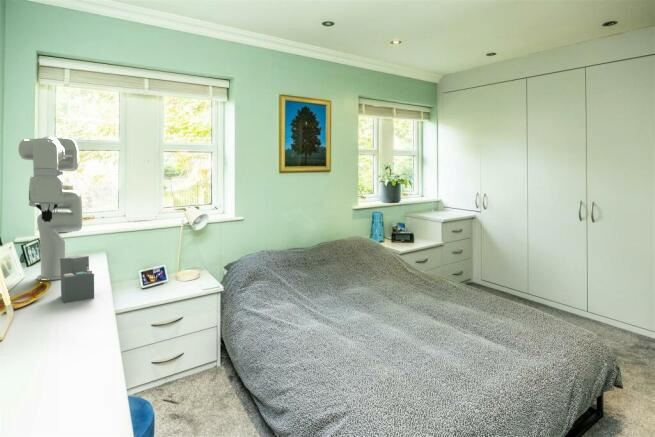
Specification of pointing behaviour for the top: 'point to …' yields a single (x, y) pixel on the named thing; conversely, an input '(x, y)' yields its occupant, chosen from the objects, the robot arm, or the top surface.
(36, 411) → the top surface
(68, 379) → the top surface
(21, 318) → the top surface
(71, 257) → the skincare box
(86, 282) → the panel
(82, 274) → the teal button
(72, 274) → the cream button
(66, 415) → the top surface
